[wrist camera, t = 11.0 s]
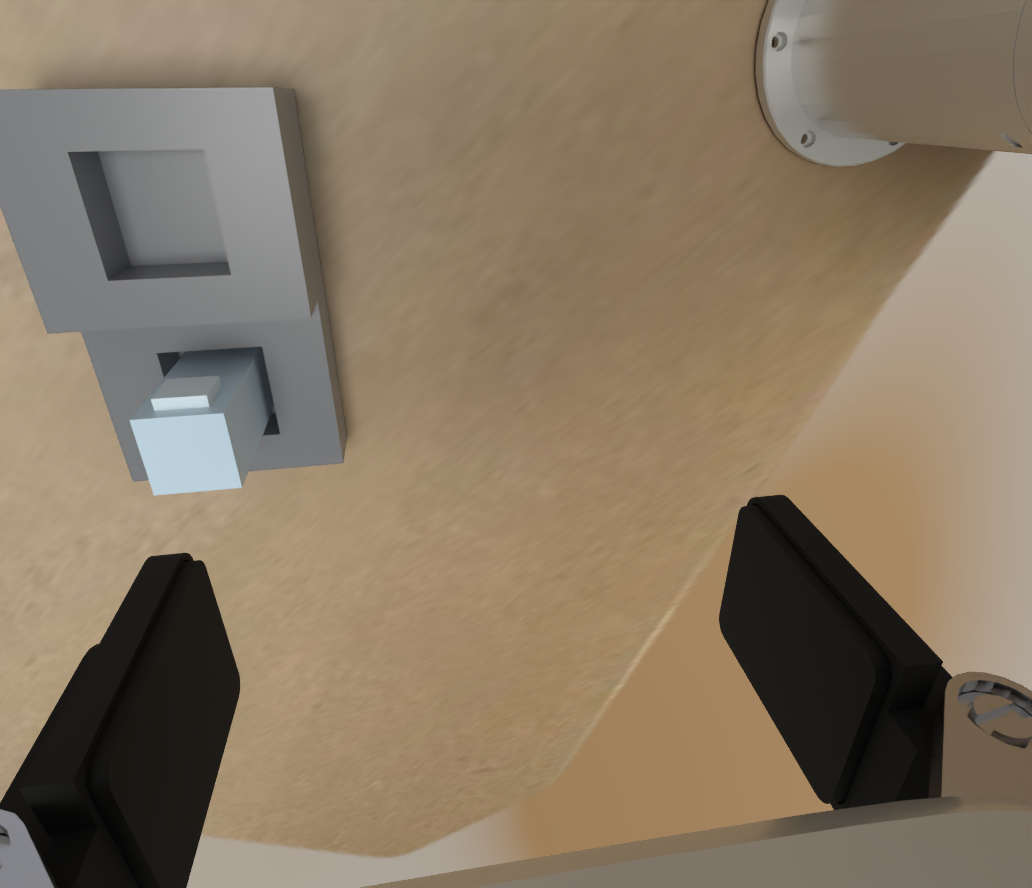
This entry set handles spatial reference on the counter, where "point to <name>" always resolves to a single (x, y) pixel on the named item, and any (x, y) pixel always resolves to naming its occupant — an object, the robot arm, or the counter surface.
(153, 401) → the plug
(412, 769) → the counter surface
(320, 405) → the socket panel
